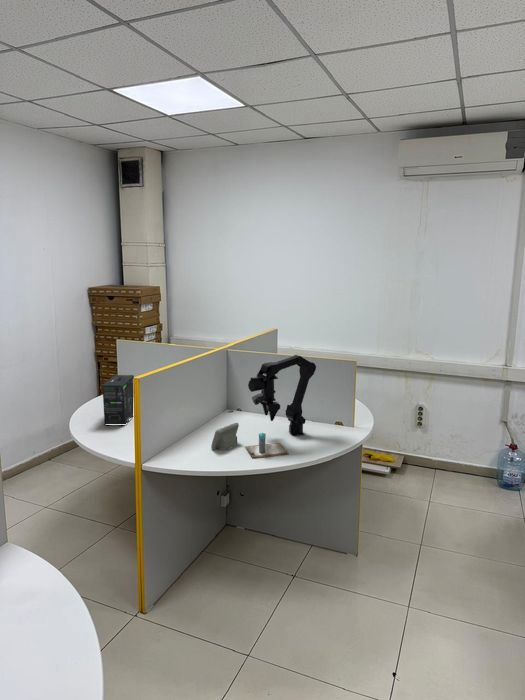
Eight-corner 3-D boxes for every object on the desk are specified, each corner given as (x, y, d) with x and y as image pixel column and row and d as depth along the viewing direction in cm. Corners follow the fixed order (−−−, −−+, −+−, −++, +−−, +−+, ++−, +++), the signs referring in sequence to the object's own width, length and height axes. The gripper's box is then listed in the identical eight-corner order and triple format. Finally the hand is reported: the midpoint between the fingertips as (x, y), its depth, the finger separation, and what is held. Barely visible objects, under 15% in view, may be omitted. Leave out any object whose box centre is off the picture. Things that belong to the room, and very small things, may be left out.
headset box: (125, 426, 267) (123, 381, 262) (104, 426, 267) (101, 381, 262) (136, 413, 289) (134, 371, 284) (116, 413, 289) (114, 371, 284)
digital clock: (233, 439, 247) (233, 419, 245) (244, 444, 241) (244, 424, 239) (206, 447, 237) (206, 426, 235) (217, 453, 230) (217, 431, 228)
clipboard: (279, 443, 242) (279, 440, 241) (289, 454, 228) (289, 451, 228) (245, 447, 237) (245, 444, 236) (252, 458, 223) (252, 455, 223)
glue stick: (264, 450, 231) (264, 432, 229) (266, 453, 228) (266, 435, 226) (258, 451, 230) (258, 433, 228) (259, 454, 227) (259, 435, 225)
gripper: (248, 385, 248) (248, 414, 251) (258, 394, 231) (259, 425, 234) (268, 383, 251) (269, 411, 254) (280, 392, 234) (280, 423, 237)
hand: (268, 418), depth 245 cm, fingers open, 9 cm apart
